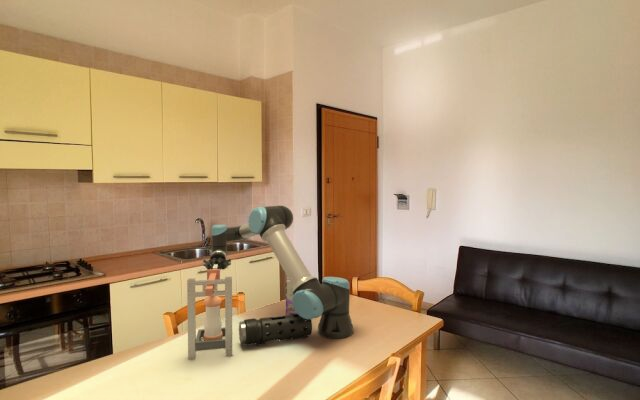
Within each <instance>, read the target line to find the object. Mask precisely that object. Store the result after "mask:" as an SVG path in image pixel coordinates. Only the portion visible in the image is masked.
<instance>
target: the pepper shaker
mask: <svg viewBox="0 0 640 400" xmlns="http://www.w3.org/2000/svg"><path fill="white" fill-rule="evenodd" d="M222 303H223V300H222V298H221V296H206V297H205V298H204V300H203V305H204V306H205V317H204V319H205V320H204V325H203V326H204V327H203V329H204V331H205V333H204V337H203V341H207V340H219V339H223V336H222V331H221V328H223V327H222V324H223V323H222V319H221V317H222V316H221V304H222Z"/></svg>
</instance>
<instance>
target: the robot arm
mask: <svg viewBox="0 0 640 400" xmlns="http://www.w3.org/2000/svg"><path fill="white" fill-rule="evenodd" d="M293 223H294V214H293V212H292V210H291V209H290V208H289V207H287V206H285V205H272V206H271V205H270V206H258V207H254V208H252V210H251V211H250V213H249V216H248V222H247V223H244V224H241V225H238V226H232V227H227V225H226V224H213V225H212V226H211V232H210V233H211V254H210V258H209V259H208V260H206V259H203V260H202V262H203V263H202V264H203V267H205V268H206V271H207V270H212V269H220V271H221V269H222V270H226V269H227V268H228V267H229V266H231V265H232V260H231V259H230V258H229V259H227V257H228V250H227V249H228V243H231V242H237V241H245V240H248V239H250V238H251V237H255V236H258V235H259V237H260V238H261V240H262V241H264V242H267V243H268V245H269V247H270V248H271V250H272V252H273V254H274V256H275V258H276V259H277V261H278V263H279V264H280V267H281V268H282V270H283V272H284V273H285V275H286V277H287V278H288V279H289V280H290V282H291V284H292V285H293V287H294V288H293V292H292V293H293V295H294V296H293V300H292V301H293V302H294V303H293V307H294V309H295V311H296V313H297V314H298V315H299V316H300V317H302V318H304V319H311V320H313V319H317V318H320V319H319V323H318V325H317V332H318V334H319V335H321V336H322V337H323V338H328V339H345V338H348V337H351V336H352V335H353V333H354V326H353V323H352V318H351V315H350V298H351V297H350V296H351V295H350V294H351V291H350V290H351V288H350V282H349V280H348V279H346V278H343V277H337V276H324V277H323V278H322V280H321V282H322V283H320V280H319V278H317V277H316V276H312V275H311V273H310V271H309V270H308V268H307V266H306V265H305V263H304V261H303V260H302V258H301V257H300V255H299V253H298V252H297V250H296V248H295V246H294V245H293V243H292V241H291V240H290V238H289V237H288V235H287V233H286V231H285V230H287V229H289V228H290V227H291V226H292V224H293Z"/></svg>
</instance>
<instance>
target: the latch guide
mask: <svg viewBox="0 0 640 400" xmlns="http://www.w3.org/2000/svg"><path fill="white" fill-rule="evenodd" d="M186 284H187V285H186V288H187V290H186V291H187V292H186V293H187V297H186V298H187V300H186V301H187V302H186V303H187V360H188V361H190V360H191V361H192V360H196V358H197V350H196V337H197V333H196V332H197V331H196V328H197V327H196V325H197V324H196V322H197V321H196V318H197V317H196V298H203V297H205V298H206V296H205V288H206V285H214V291H213V295H210V296H219V297H222V296H224V302H225V303H224V311H225V312H224V317H225V318H224V320H225V321H224V322H225V324H224V325H225V327H224V328H225V336H224V337H225V338H224V339H225V348H224V349H225V357H233V276H225V277H224V278H222V279H221V278H220V279H219V280H207V279H201V280H199V279H198V280H196V278H194V277H193V278H188V279H187V280H186ZM218 285H224V290H218ZM196 286H202V291H196Z"/></svg>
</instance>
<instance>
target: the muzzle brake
mask: <svg viewBox="0 0 640 400" xmlns="http://www.w3.org/2000/svg"><path fill="white" fill-rule="evenodd" d="M312 332H313V322H312V319H304V318H302V317H300V316H299V315H298V314H292V315H291V314H285V315H277V316H270V317H269V316H268V317H260V318H259V319H256V318H247V319H246V318H245V319H244V320H243V321H240V322H238V336H239V337H238V338H239V343H240V345H245V346H250V345H256V346H259V345H265V344H266V343H267V342H273V341H279V342H282V341H289V340H296V339H302V338H303V339H304V338H308V337H309V336H311V335H312Z"/></svg>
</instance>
